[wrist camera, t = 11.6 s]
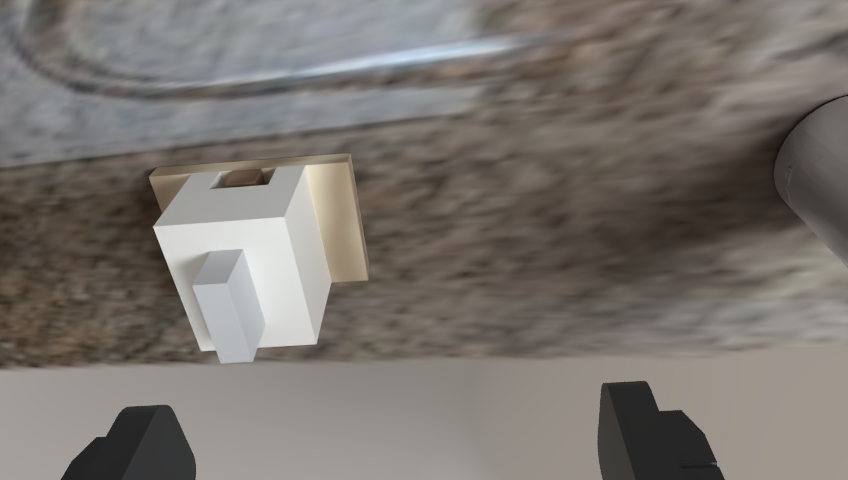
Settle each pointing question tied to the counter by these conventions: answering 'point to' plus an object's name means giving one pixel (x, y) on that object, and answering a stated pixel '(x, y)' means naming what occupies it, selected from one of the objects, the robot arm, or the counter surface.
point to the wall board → (329, 194)
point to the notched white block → (247, 262)
